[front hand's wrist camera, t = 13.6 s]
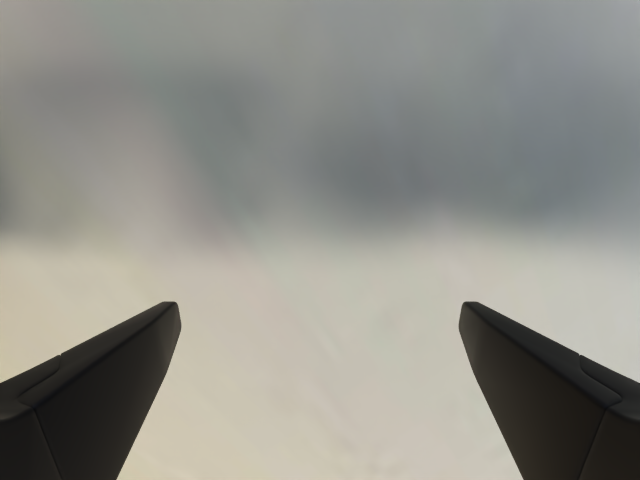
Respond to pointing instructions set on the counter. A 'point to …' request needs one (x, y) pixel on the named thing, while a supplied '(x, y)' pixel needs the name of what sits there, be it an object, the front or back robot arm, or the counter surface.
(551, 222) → the counter surface
